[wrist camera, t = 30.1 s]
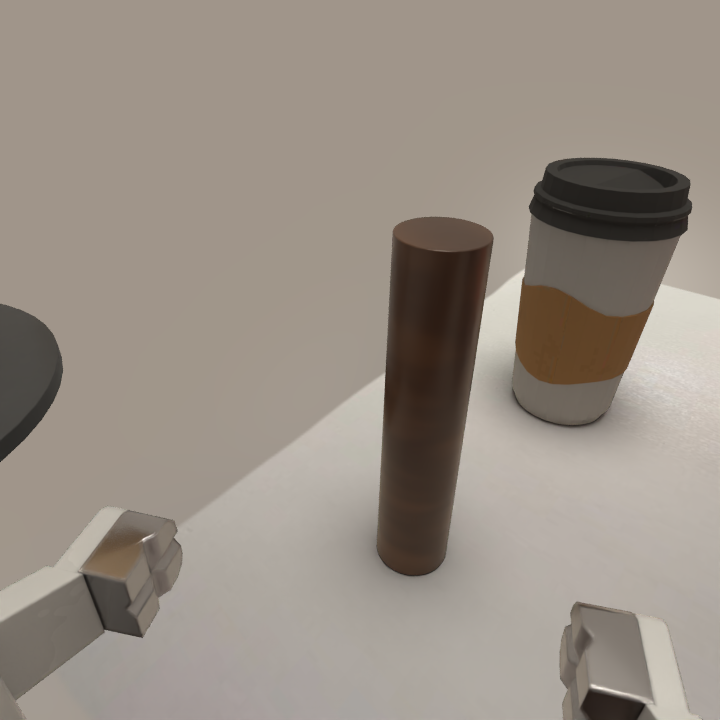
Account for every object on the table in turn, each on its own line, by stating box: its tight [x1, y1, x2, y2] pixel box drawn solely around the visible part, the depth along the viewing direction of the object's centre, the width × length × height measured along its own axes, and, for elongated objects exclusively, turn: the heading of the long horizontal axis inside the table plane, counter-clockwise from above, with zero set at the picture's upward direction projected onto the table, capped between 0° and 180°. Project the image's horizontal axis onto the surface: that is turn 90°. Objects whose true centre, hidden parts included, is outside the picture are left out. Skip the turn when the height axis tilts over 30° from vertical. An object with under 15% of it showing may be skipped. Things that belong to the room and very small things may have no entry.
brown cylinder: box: [377, 217, 493, 575], centre depth 23 cm, size 3×3×16 cm
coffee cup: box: [512, 158, 692, 425], centre depth 34 cm, size 8×8×15 cm
